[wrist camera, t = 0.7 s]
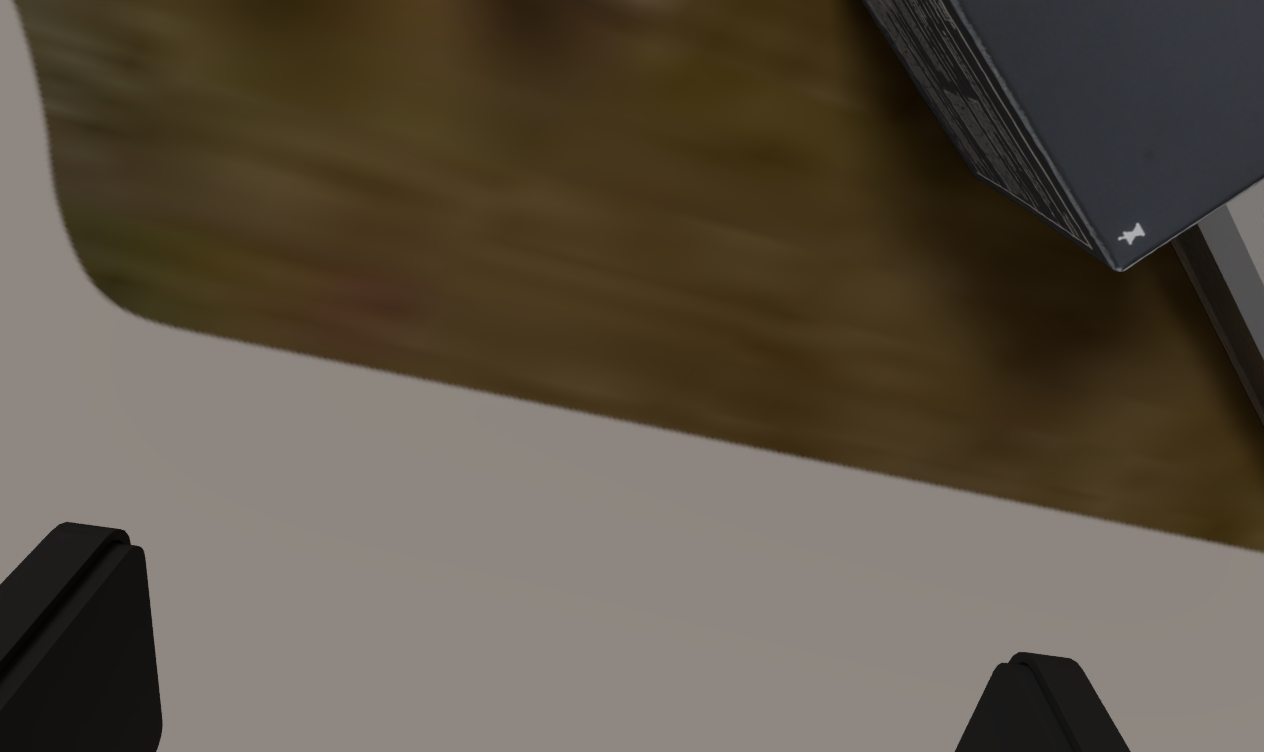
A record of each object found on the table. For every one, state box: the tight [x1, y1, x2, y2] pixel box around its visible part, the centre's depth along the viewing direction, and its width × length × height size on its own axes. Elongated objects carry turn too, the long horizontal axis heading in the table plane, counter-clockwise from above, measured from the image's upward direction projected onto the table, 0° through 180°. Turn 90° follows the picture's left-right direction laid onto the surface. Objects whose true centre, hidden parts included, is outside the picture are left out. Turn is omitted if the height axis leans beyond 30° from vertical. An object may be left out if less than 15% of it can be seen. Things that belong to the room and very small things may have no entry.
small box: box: [861, 0, 1264, 272], centre depth 25 cm, size 11×6×10 cm, turn 39°
